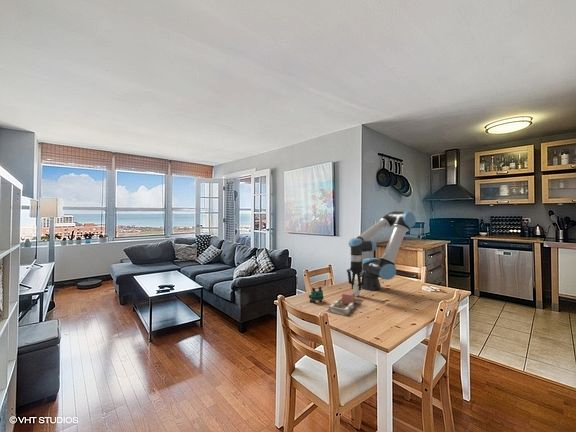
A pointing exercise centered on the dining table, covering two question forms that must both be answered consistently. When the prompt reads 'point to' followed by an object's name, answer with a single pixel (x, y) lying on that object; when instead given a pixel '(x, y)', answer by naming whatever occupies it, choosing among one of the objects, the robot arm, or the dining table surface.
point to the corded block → (349, 295)
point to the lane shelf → (344, 307)
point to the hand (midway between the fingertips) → (356, 294)
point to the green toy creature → (316, 295)
